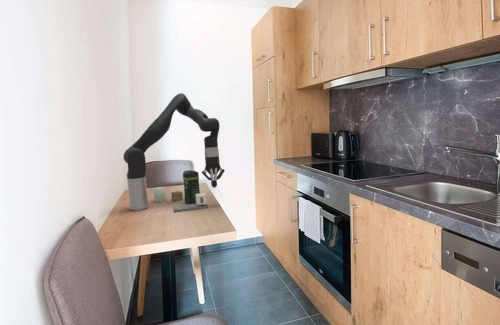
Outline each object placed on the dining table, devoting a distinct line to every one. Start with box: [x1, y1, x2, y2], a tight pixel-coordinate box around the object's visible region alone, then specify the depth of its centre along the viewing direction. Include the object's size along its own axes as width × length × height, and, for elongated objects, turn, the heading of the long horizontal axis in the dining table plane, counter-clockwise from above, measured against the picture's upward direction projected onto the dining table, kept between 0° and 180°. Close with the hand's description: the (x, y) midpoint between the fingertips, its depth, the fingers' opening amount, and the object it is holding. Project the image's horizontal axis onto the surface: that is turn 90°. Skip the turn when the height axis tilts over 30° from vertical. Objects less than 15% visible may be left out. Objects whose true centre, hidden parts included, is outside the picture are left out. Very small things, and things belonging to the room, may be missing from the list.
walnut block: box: [171, 190, 184, 203], centre depth 171 cm, size 5×5×5 cm
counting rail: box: [172, 203, 208, 213], centre depth 151 cm, size 8×17×2 cm, turn 108°
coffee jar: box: [182, 169, 200, 204], centre depth 164 cm, size 10×8×19 cm
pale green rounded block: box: [152, 186, 167, 204], centre depth 171 cm, size 7×7×8 cm
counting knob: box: [195, 192, 208, 205], centre depth 152 cm, size 6×5×5 cm
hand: (214, 187), depth 155 cm, fingers closed
